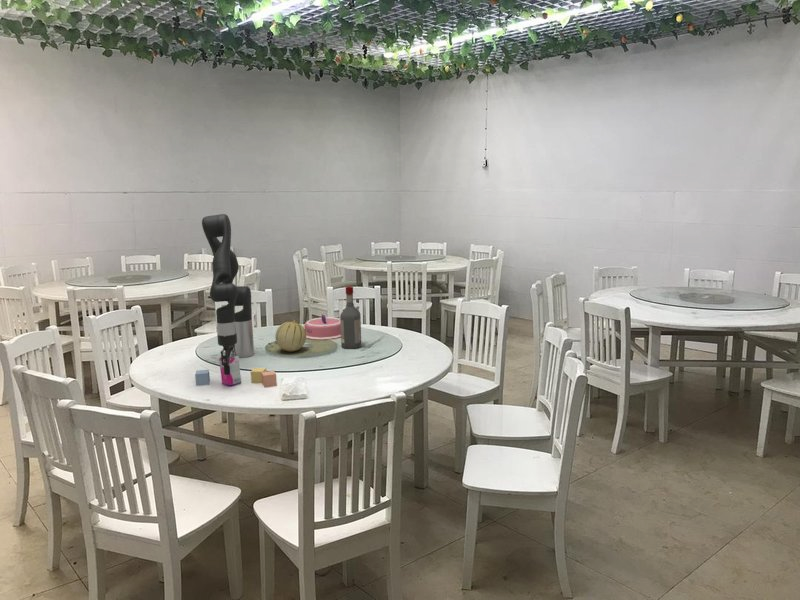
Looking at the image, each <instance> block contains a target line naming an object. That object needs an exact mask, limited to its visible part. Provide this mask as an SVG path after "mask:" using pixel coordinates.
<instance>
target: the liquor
mask: <svg viewBox="0 0 800 600" xmlns="http://www.w3.org/2000/svg"><path fill="white" fill-rule="evenodd" d="M345 295H346V299H345V300H346V305H345V307H344V309H343V310H342V312H341V313H340V314H339V315H340V316H339V319H340V324H341V338H340V343H341V348H342V349H344V350H356V349H359V348H361V346H362V323H361V321H362V320H361V318H362V317H361V313H360V311H359V309H357V308H356V306H355V304H354V296H353V295H354V286H346V287H345Z"/></svg>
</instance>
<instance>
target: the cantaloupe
mask: <svg viewBox="0 0 800 600" xmlns="http://www.w3.org/2000/svg"><path fill="white" fill-rule="evenodd" d="M274 335H275V338H274V339H275V342H276V344H277V346H278V347H279V348H280V349H281V350H283V351H285V352H287V353H288V352H296V351H298V350H301V348H303V346H304V345H305V343H306V340H307V339H306V331H305V327H303V325H302V324H300V323H298V322H296V320H295V319H293V321H285V322H283V323H281V324H280V325H279V326H278V327H277V329H276V331H275V334H274Z"/></svg>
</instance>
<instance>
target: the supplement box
mask: <svg viewBox="0 0 800 600" xmlns="http://www.w3.org/2000/svg"><path fill="white" fill-rule="evenodd" d="M225 362H226V361H225ZM219 368H220V379H221V380H220V381H221V385H224V386H226V387H229V388H230V387H234V386H237V385H240V384H242V377H241V376H242V375H241V367H240V357H238V356H234V355H232V358H231V360H230V374H229V375H225V374H224V366H222V362H221V357H219Z"/></svg>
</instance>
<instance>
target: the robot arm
mask: <svg viewBox="0 0 800 600" xmlns="http://www.w3.org/2000/svg"><path fill="white" fill-rule="evenodd" d="M201 226H202V227H201V228H202V230H203V233H204V235H205V237H206V240H207V242H208V244H209V245H208V246H209V247H210V250H211V252H212V255H213V258H212V282H211V286H210V290H209V297H210V299H211V300H212V301H213V302H215V303H221V302H227V304H225V305H224V306H220V307H217V309H216V311H215V313H216V314H215V315H216V333H217V344H218V346H222V350H221V351H220V358H221V362H222V366H224V374H225V375H229V374H230V360H231V358H232V355H234V356H238V357H239V358H247V357H252V356H255V343H254V330H253V328H254V327H253V315H252V314H253V313H252V312H253V311H252V292H251V288H250V287H249V286H248V285H247V286H246V285H244V286H243V285H242V286H239V285H238V286H236V285H235V284H234V283H233V282H234V280H235V278H236V276H237V274H238V272H239V267H240V265H239V261H238V259H237V258H238V257H237V255H236V254H235V252H234V251H233V250H232V249H231V246H232V245H231V244H232V224H231V221H230V218H229V216H228V214H226V213H220V214H213V215H207V216H204V217H203V218H202V220H201ZM221 237H222V240H221V241H220V240H219V239H218V238H221ZM241 306H242V309H241V310H240V311H237V312H235V308H236V307H241ZM225 361H226V362H225Z"/></svg>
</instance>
